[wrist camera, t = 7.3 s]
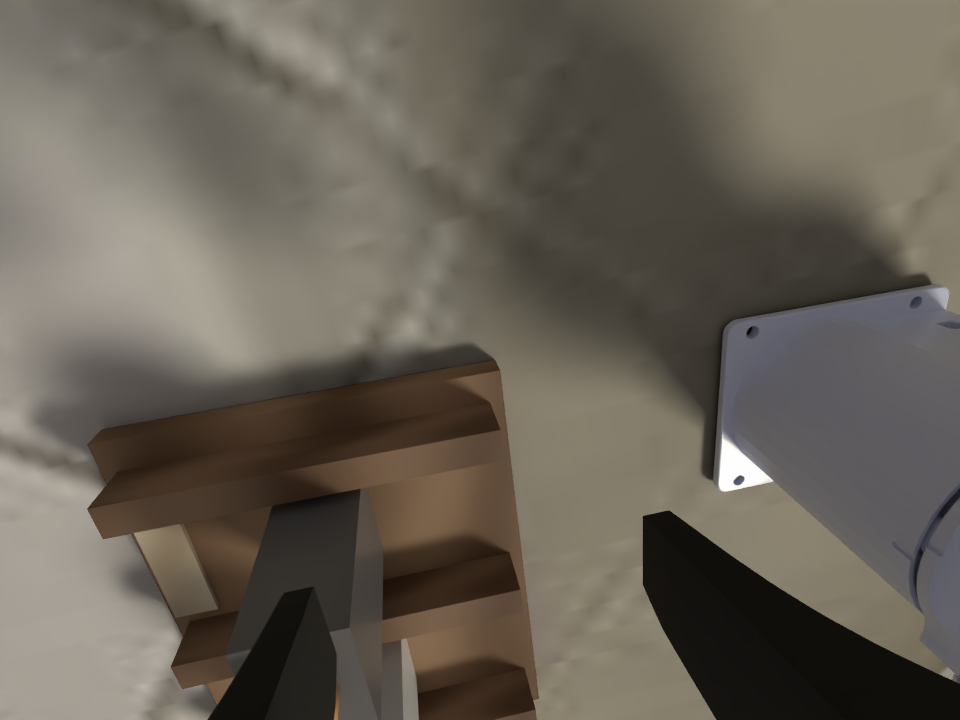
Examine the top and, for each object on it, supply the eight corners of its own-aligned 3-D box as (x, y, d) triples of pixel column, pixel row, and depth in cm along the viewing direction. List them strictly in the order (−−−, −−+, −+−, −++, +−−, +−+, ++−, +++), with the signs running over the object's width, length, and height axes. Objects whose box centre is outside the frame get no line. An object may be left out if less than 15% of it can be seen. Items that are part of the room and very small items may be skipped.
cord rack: (494, 359, 20) (511, 395, 17) (533, 679, 27) (550, 740, 24) (102, 429, 18) (52, 480, 16) (253, 746, 26) (237, 819, 23)
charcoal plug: (362, 467, 20) (344, 684, 12) (383, 550, 21) (380, 788, 13) (279, 483, 19) (205, 716, 11) (307, 566, 21) (259, 819, 13)
